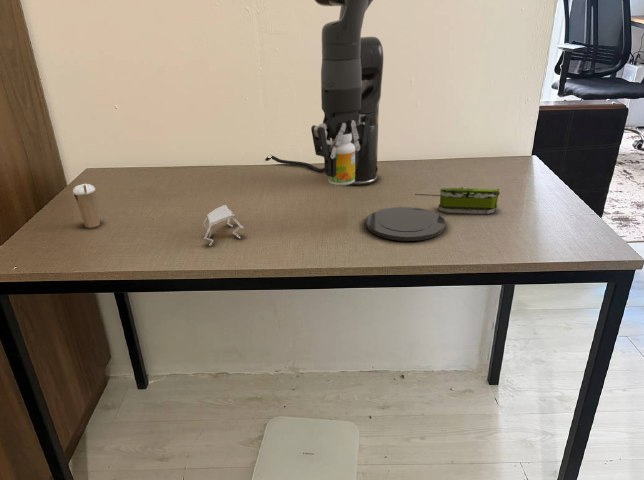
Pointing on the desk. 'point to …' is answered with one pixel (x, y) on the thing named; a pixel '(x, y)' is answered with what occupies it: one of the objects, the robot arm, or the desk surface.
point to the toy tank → (468, 200)
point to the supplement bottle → (344, 162)
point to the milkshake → (87, 204)
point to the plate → (405, 223)
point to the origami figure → (218, 216)
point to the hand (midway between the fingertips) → (341, 172)
